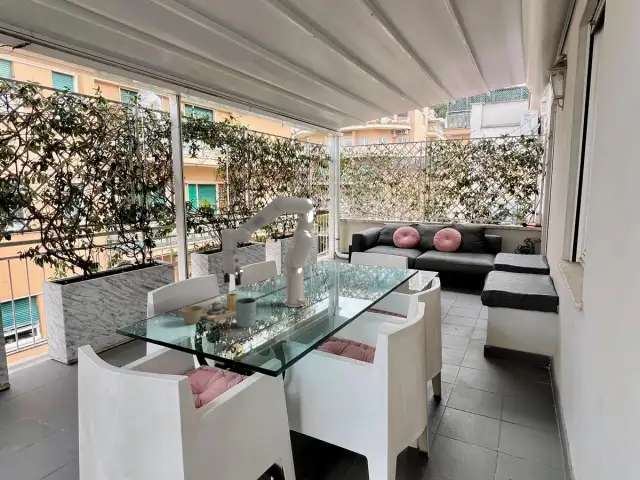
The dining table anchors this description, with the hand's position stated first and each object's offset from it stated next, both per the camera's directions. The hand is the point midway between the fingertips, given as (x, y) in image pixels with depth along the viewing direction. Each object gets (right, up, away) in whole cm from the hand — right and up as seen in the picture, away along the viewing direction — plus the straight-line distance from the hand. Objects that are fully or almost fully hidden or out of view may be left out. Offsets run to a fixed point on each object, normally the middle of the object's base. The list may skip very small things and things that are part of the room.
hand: (232, 283), depth 203 cm
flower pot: (-16, -17, -16) cm, 29 cm away
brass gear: (0, -13, +2) cm, 13 cm away
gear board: (-3, -15, -1) cm, 15 cm away
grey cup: (+11, -18, -20) cm, 29 cm away
